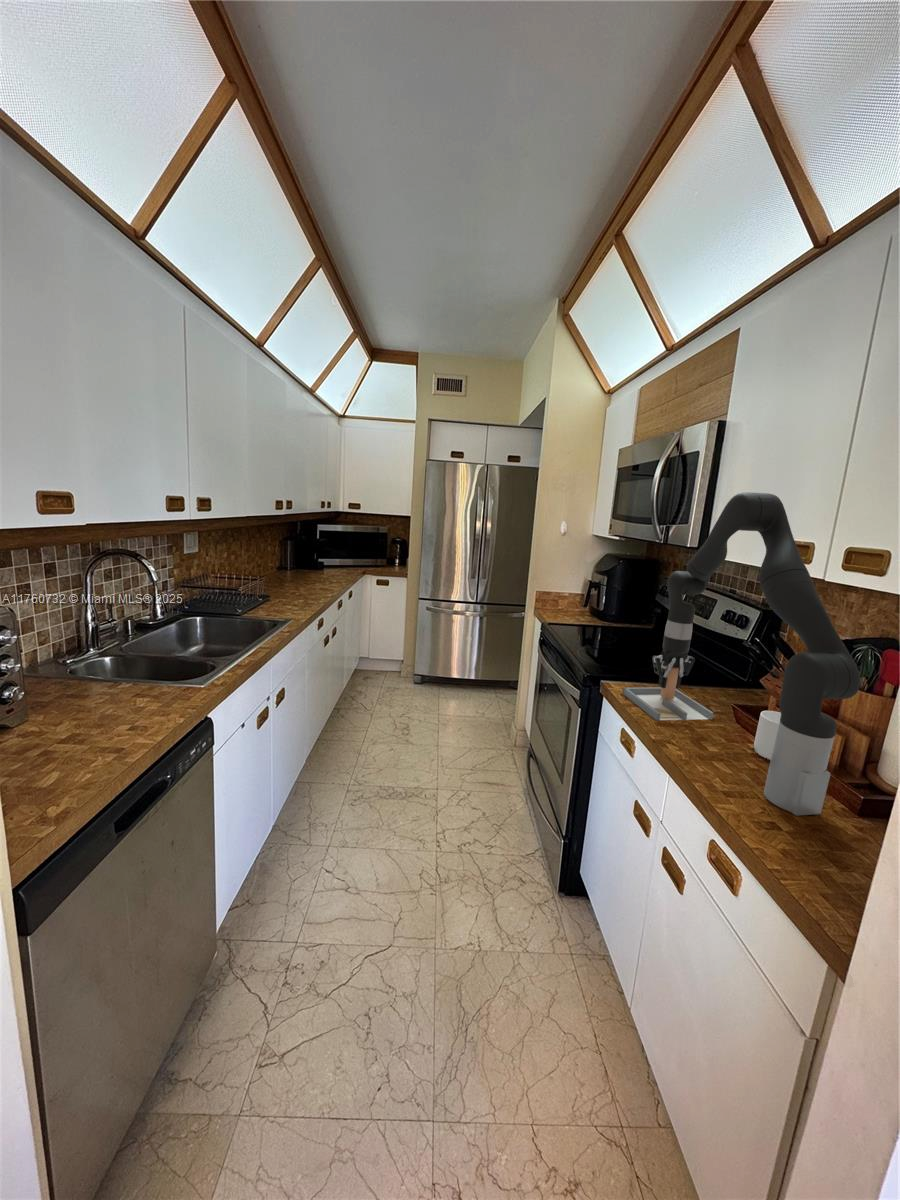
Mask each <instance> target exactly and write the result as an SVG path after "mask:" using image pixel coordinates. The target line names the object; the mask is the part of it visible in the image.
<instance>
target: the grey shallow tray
mask: <svg viewBox="0 0 900 1200" xmlns="http://www.w3.org/2000/svg"><path fill="white" fill-rule="evenodd" d="M661 689H662V687H660V686H659V687H653V686H651V687H646V686H645V687H623V689H622V693H621V694H622V695H624V696H625V697H626V698H627V699H629V700H630V701H631V702H632V703H634V704H635V705H636V706H638V707H639V708H640V709H641V710H643V711H644V712H645V713H646V714H648V715H649V716H650V717H651V718H652V719H654V720H655V721H691V720H699V721H700V720H713V718H714V712H713V711H712V710H710V709H709V708H707V707H705V706H704V705H702V704H701V703H699V702H697V701H696V700H694V699H693V698H691V697H690V696H688V695H686V694H685V693H683V692H681V691H680V690H679V689H678V688H676V690H675V696H674V699H666V698H663V697H661V696H660V695H661ZM654 708H667V709H669V710H670V711H671V712H673V713H674V714H676V715H677V716H678V717H679V718H660V713H659V712H658V711H656V710H655V709H654Z"/></svg>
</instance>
